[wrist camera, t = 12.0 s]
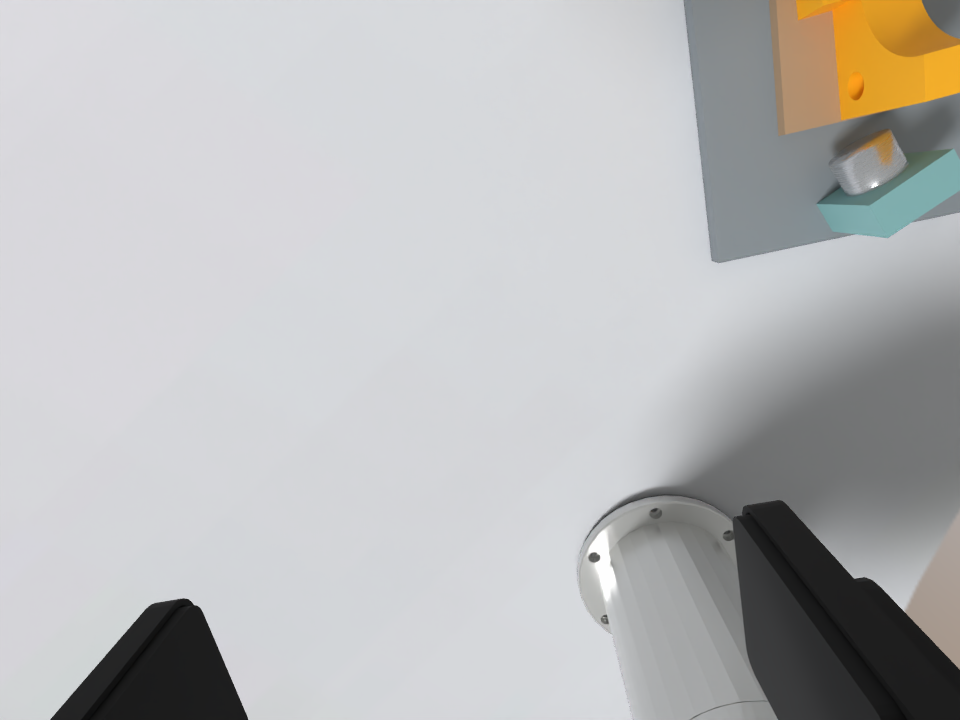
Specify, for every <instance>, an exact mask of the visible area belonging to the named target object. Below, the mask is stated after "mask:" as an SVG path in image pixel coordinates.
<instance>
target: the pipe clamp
mask: <svg viewBox="0 0 960 720" xmlns="http://www.w3.org/2000/svg"><path fill="white" fill-rule="evenodd" d="M796 5H797V15H798V20H801V19H805V18H808V17H812V16H815V15H818V14H822V13H825V12H829V11H832V12H833V25H834V37H835V49H836V62H837V74H838V86H839V99H840V111H841V120H845V119H849V118H854V117H859V116H863V115H868V114H872V113H877V112H882V111H886V110H891V109H895V108H900V107H904V106H909V105H914V104H918V103H923V102H927V101H931V100H934V99H938V98H942V97H945V96H949V95H953V94H957V93H960V39H958V38H955V37H952V36H950V35H948V34H946V33H945V32H943V31H942V30H941V29H939V28H938V27H937V26H936V25H935V24H934V22H933V21H932V20H931V18H930V17H929V16H928V14H927V12H926V10H925V8H924V5H923V3H922V0H796Z"/></svg>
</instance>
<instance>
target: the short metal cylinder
mask: <svg viewBox="0 0 960 720" xmlns="http://www.w3.org/2000/svg"><path fill="white" fill-rule="evenodd" d="M908 165H909V163H908V161H907V159H906V157H905V155H904V154H903V152H902V150H901V148H900V146H899V144H898V142H897V141H896V139H895V137H894V135H893V133H892V131H891V130H890V129H884V130H880V131H877V132H875V133H872V134H870V135H868V136H865V137H863V138H861V139H859V140H858V141H856V142H854V143H852V144H851V145H849V146H848V147H846V148H844V149H843V150H842V151H840V152H839V153H838V154H836V155H835V156H834V157H833V158H832V159H831V160H830V162H829V166H830V168H831V170H832V172H833V173H834V175H835V177H836V179H837V180H838V182H839V184H840V185H841V187H842V189H843V191H844V192H845V194H846V196H849V197H853V196H858V195H862V194H865V193H867V192H870V191H872V190H874V189H877V188H879V187H881V186H883V185H884V184H886V183H888V182H890V181H891V180H893V179H894V178H896V177H897V176H899V175H900V174H901V173H902V172H903V171H904V170H905V169H906V168H907V167H908Z"/></svg>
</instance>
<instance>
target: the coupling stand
mask: <svg viewBox="0 0 960 720" xmlns="http://www.w3.org/2000/svg"><path fill="white" fill-rule="evenodd" d="M922 3H923V5H924V8H925V10H926V12H927V14H928V16H929V17H930V18H931V20H932V21H933V22H934V24H935V25H936V26H937V27H938V28H939V29H941V30H942V31H943V32H945V33H946V34H948V35H950V36H952V37H955V38H958V39H960V0H922ZM684 6H685V15H686V24H687V33H688V43H689V52H690V61H691V71H692V80H693V89H694V99H695V108H696V117H697V127H698V136H699V145H700V155H701V164H702V173H703V183H704V192H705V201H706V210H707V220H708V229H709V238H710V248H711V257H712V261H714V262H717V263H722V262H726V261H731V260H736V259H741V258H745V257H750V256H755V255H760V254H764V253H769V252H774V251H779V250H783V249H788V248H793V247H798V246H802V245H807V244H812V243H817V242H821V241H826V240H831V239H836V238H840V237H845V236H850V235H854V234H858V235H867V236H876V237H884V238H888V237H890V236H891V235H893V234H894V233H896V232H898V231H899V230H901V229H902V228H904V227H905V226H907V225H908V224H910V223H911V222H916V221H921V220H926V219H930V218H935V217H940V216H945V215H949V214H954V213H959V212H960V93H957V94H953V95H949V96H945V97H942V98H938V99H934V100H931V101H927V102H923V103H918V104H914V105H909V106H904V107H900V108H895V109H891V110H886V111H882V112H877V113H872V114H868V115H863V116H859V117H854V118H849V119H845V120H841V111H840V99H839V86H838V74H837V62H836V49H835V37H834V25H833V12H832V11H829V12H825V13H822V14H818V15H815V16H812V17H808V18H805V19H801V20H798V15H797V5H796V0H684ZM884 129H890V130H891V131H892V133H893V135H894V137H895V139H896V141H897V142H898V144H899V146H900V148H901V150H902V152H903V154H904V155H905V157H906V159H907V161H908V163H909V165H908V167H907V168H906V169H905V170H904V171H903V172H902V173H901V174H900V175H899V176H897V177H896V178H894V179H893V180H891V181H890V182H888V183H886V184H884V185H883V186H881V187H879V188H877V189H874V190H872V191H870V192H867V193H865V194H862V195H858V196H853V197H849V196H846V194H845V192H844V191H843V189H842V187H841V185H840V184H839V182H838V180H837V179H836V177H835V175H834V173H833V172H832V170H831V168H830V166H829V162H830V160H831V159H832V158H833V157H834V156H835V155H836V154H838V153H839V152H840V151H842V150H843V149H844V148H846V147H848V146H849V145H851V144H852V143H854V142H856V141H858V140H859V139H861V138H863V137H865V136H868V135H870V134H872V133H875V132H877V131H880V130H884Z"/></svg>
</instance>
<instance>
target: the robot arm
mask: <svg viewBox="0 0 960 720" xmlns="http://www.w3.org/2000/svg"><path fill="white" fill-rule="evenodd" d="M742 515H743V516H737V517H734V518H733V521H732V520H731V519H730V518H729V517H728V516H727V515H726V514H724V513H723V512H721V511H720V510H718V509H717V508H715V507H713V506H712V505H709V504H707V503H704V502H702V501H700V500H697V499H692V498H688V497H683V496H665V495H663V496H656V497H648V498H644V499H641V500H637V501H634V502H631V503H629V504H627V505H625V506H623V507H621V508H619V509H617V510H615V511H614V512H612V513H611V514H609V515H608V516H607V517H605V518H604V519H603V520H602V521H601V522H600V523H599V524H598V525H597V526H596V527H595V528H594V529H593V530H592V531H591V533H590V535H589V536H588V538H587V539H586V541H585V543H584V545H583V547H582V550H581V553H580V555H579V560H578V567H577V576H578V585H579V590H580V594H581V598H582V600H583V603H584V605H585V607H586V609H587V611H588V612H589V614H590V615H591V616H592V618H593V619H594V620H595V622H596V623H597V624H599V625H600V626H601V627H602V628H603V629H604V630H605V631H607V632H608V633H610V634H612V637H613V641H614V645H615V649H616V654H617V658H618V662H619V666H620V670H621V674H622V678H623V682H624V686H625V690H626V694H627V699H628V703H629V707H630V711H631V715H632V719H633V720H960V670H959V669H958V667H956V665H955V664H954V663H953V662H951V660H950V659H949V658H948V657H947V656H946V655H945V654H944V653H943V652H942V651H941V650H940V649H939V648H938V647H937V646H936V645H935V643H934V642H933V641H932V640H931V639H930V638H929V637H928V636H927V635H926V634H925V633H924V632H923V631H922V630H921V629H920V628H919V627H918V626H917V625H916V624H915V623H914V622H913V620H912V619H911V618H910V617H908V615H907V614H906V613H905V612H904V611H903V610H902V609H901V608H900V607H899V606H898V605H897V604H896V603H895V602H894V601H893V600H892V599H891V598H890V596H889V595H888V594H887V593H886V592H885V591H884V590H883V589H882V588H881V587H880V586H879V585H877V584H876V583H875V582H874V581H873V580H870V579H868V578H865V577H863V578H857V579H854V578H853V577H852V576H851V575H850V574H849V573H848V572H847V570H846V569H845V568H844V567H843V566H842V565H841V564H840V563H839V562H838V561H837V559H836V558H835V557H834V556H833V555H832V554H831V553H830V552H829V551H828V550H827V549H826V547H825V546H824V545H823V544H822V543H821V542H820V541H819V540H818V539H817V538H816V536H815V535H814V534H813V533H812V532H811V531H810V530H809V529H808V528H807V527H806V525H805V524H804V523H803V522H802V521H801V520H800V519H799V518H798V517H797V516H796V514H795V513H794V512H793V511H792V510H791V509H790V508H789V507H788V506H787V505H786V504H785V503H784V502H783V501H781V500H777V501H771V502H765V503H759V504H753V505H747V506H744V507H743V511H742ZM50 720H248V717H247V715H246V713H245V710H244V708H243V706H242V703H241V701H240V698H239V696H238V694H237V691H236V689H235V687H234V684H233V682H232V680H231V677H230V675H229V673H228V670H227V668H226V666H225V663H224V661H223V659H222V656H221V654H220V652H219V649H218V647H217V645H216V642H215V640H214V638H213V635H212V633H211V631H210V628H209V626H208V623H207V621H206V619H205V616H204V614H203V612H202V610H201V609H200V608H199V607H198V606H195V605H193V603H192V602H191V601H190V600H188V599H177V600H171V601H165V602H159V603H155V604H152V605H150V606H149V607H148V608H147V609H146V610H145V611H144V612H143V613H142V614H141V615H140V617H139V618H138V619H137V620H136V621H135V622H134V623H133V625H132V626H131V627H130V628H129V629H128V630H127V632H126V633H125V634H124V635H123V636H122V637H121V638H120V640H119V641H118V642H117V643H116V644H115V645H114V647H113V648H112V649H111V650H110V651H109V652H108V654H107V655H106V656H105V657H104V658H103V659H102V660H101V662H100V663H99V664H98V665H97V666H96V667H95V669H94V670H93V671H92V672H91V673H90V674H89V675H88V677H87V678H86V679H85V680H84V681H83V682H82V684H81V685H80V686H79V687H78V688H77V689H76V691H75V692H74V693H73V694H72V695H71V696H70V697H69V699H68V700H67V701H66V702H65V703H64V704H63V706H62V707H61V708H60V709H59V710H58V711H57V712H56V714H55V715H54V716H53V717H52V718H51V719H50Z"/></svg>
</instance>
